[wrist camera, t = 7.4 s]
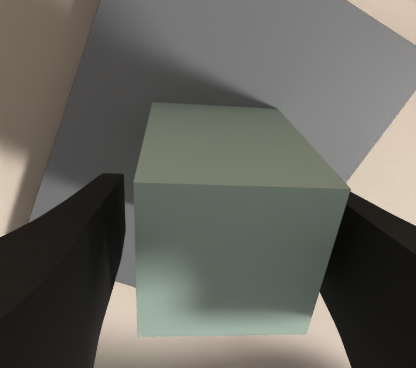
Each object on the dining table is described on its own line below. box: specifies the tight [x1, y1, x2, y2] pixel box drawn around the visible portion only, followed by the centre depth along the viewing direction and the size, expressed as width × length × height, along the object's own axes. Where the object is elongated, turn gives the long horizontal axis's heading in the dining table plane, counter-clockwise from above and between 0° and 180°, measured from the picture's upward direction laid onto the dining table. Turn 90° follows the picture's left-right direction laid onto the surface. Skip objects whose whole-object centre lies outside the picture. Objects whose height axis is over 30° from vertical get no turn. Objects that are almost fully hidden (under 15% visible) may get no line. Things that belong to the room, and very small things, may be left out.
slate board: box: [28, 0, 416, 287], centre depth 14 cm, size 14×11×1 cm
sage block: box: [133, 102, 351, 337], centre depth 11 cm, size 4×4×6 cm
